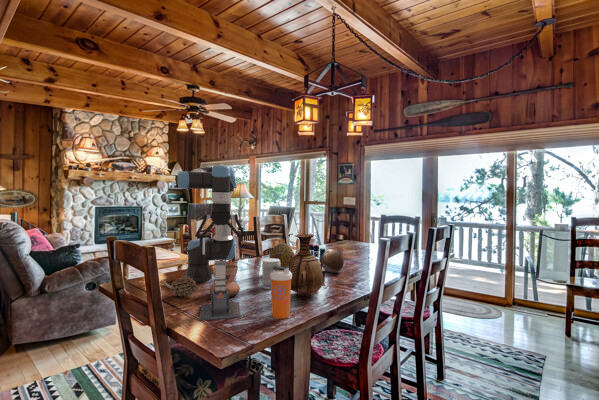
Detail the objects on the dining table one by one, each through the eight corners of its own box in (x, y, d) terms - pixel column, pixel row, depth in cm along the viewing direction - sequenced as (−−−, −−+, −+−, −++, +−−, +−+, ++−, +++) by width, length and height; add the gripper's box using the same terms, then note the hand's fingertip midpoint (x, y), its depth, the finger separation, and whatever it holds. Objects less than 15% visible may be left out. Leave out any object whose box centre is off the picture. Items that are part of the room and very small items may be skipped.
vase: (315, 305, 147) (316, 238, 146) (278, 300, 153) (279, 236, 153) (328, 291, 167) (328, 233, 166) (294, 287, 173) (295, 231, 173)
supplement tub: (283, 288, 172) (283, 260, 172) (267, 291, 167) (267, 262, 167) (274, 284, 181) (274, 257, 180) (259, 286, 175) (259, 259, 175)
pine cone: (202, 295, 159) (202, 275, 159) (188, 301, 150) (188, 280, 150) (167, 290, 167) (167, 270, 167) (152, 295, 158) (152, 275, 158)
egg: (263, 275, 200) (263, 242, 199) (284, 271, 210) (284, 240, 210) (280, 280, 187) (280, 245, 187) (301, 276, 198) (301, 243, 198)
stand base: (201, 306, 144) (201, 285, 144) (238, 304, 147) (238, 283, 147) (199, 320, 128) (199, 297, 128) (240, 317, 132) (240, 294, 132)
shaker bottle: (269, 311, 138) (270, 264, 138) (291, 311, 139) (291, 264, 139) (269, 320, 129) (270, 269, 129) (292, 319, 130) (292, 269, 130)
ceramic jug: (231, 301, 150) (231, 271, 150) (202, 298, 154) (203, 268, 153) (245, 291, 168) (246, 263, 168) (219, 288, 171) (220, 261, 171)
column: (214, 307, 140) (214, 260, 139) (226, 306, 141) (226, 260, 140) (214, 311, 135) (214, 263, 134) (226, 310, 136) (226, 262, 136)
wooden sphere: (316, 272, 207) (316, 249, 206) (327, 268, 219) (328, 246, 219) (337, 276, 198) (337, 251, 198) (348, 271, 210) (348, 248, 210)
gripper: (188, 202, 130) (188, 256, 130) (251, 203, 136) (251, 254, 136) (190, 202, 137) (190, 252, 138) (250, 202, 143) (249, 251, 144)
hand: (220, 253), depth 137 cm, fingers open, 13 cm apart
